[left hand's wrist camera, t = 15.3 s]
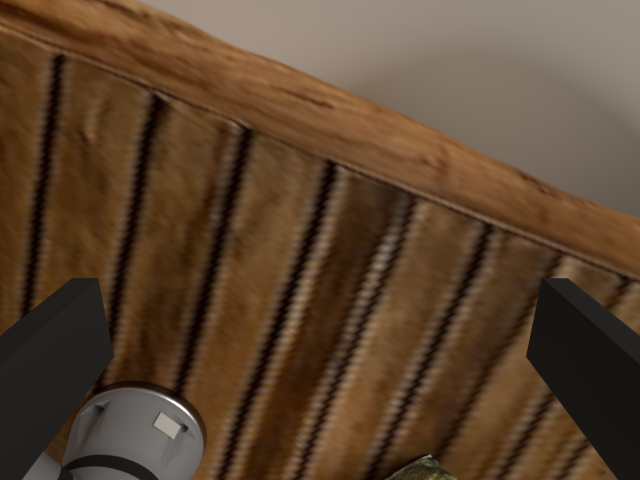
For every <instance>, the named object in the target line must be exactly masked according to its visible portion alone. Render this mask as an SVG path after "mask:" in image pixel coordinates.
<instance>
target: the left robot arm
mask: <svg viewBox="0 0 640 480" xmlns="http://www.w3.org/2000/svg"><path fill="white" fill-rule="evenodd" d="M113 357H114V355H113V350H112V345H111V340H110V335H109V330H108V325H107V320H106V315H105V311H104V306H103V301H102V296H101V291H100V286H99V281H98V278H72V279H71V280H69V281H68V282H67V283H66V284H64V285H63V286H62V287H61V288H59V289H58V290H57V291H56V292H54V293H53V294H52V295H51V296H49V297H48V298H47V299H46V300H44V301H43V302H42V303H41V304H39V305H38V306H37V307H36V308H34V309H33V310H32V311H31V312H29V313H28V314H27V315H26V316H24V317H23V318H22V319H21V320H19V321H18V322H17V323H16V324H14V325H13V326H12V327H11V328H9V329H8V330H7V331H6V332H4V333H3V334H2V335H1V336H0V480H190V478H191V477H192V476H193V474H194V473H195V471H196V470H197V468H198V466H199V464H200V462H201V460H202V457H203V453H204V450H205V447H206V442H207V434H206V428H205V425H204V422H203V420H202V418H201V416H200V415H199V413H198V412H197V410H196V409H195V408H194V407H193V406H192V405H191V404H190V403H189V402H188V401H187V400H186V399H184V398H183V397H182V396H180V395H179V394H177V393H175V392H173V391H172V390H169V389H167V388H165V387H162V386H159V385H155V384H151V383H146V382H122V383H117V384H113V385H110V386H107V387H105V388H103V389H101V390H99V391H97V392H96V393H95V394H93V395H92V396H91V397H90V398H89V399H88V400H87V402H86V403H85V404H84V406H83V407H82V408H81V410H80V411H79V413H78V414H77V416H76V418H75V421H74V423H73V425H72V428H71V432H70V436H69V440H68V443H67V447H66V451H65V455H64V458H63V462H62V466H61V465H60V464H59V463H58V462H57V461H55V460H54V459H53V458H51V457H50V456H49V455H47V454H46V453H45V452H43V451H44V450H45V448H46V447H47V446H48V444H49V443H50V442H51V440H52V439H53V438H54V436H55V435H56V434H57V432H58V431H59V430H60V428H61V427H62V426H63V424H64V423H65V422H66V420H67V419H68V418H69V416H70V415H71V414H72V412H73V411H74V409H75V408H76V407H77V405H78V404H79V403H80V401H81V400H82V399H83V397H84V396H85V395H86V393H87V392H88V391H89V389H90V388H91V387H92V385H93V384H94V383H95V381H96V380H97V379H98V377H99V376H100V375H101V373H102V372H103V371H104V369H105V368H106V367H107V365H108V364H109V363H110V361H111V360H112V359H113ZM526 357H527V359H528V360H529V361H530V363H531V364H532V365H533V367H534V368H535V369H536V371H537V372H538V373H539V375H540V376H541V377H542V379H543V380H544V381H545V383H546V384H547V385H548V387H549V388H550V389H551V391H552V392H553V393H554V395H555V396H556V397H557V399H558V400H559V401H560V403H561V404H562V405H563V407H564V408H565V409H566V411H567V412H568V414H569V415H570V416H571V418H572V419H573V420H574V422H575V423H576V424H577V426H578V427H579V428H580V430H581V431H582V432H583V434H584V435H585V436H586V438H587V439H588V440H589V442H590V443H591V444H592V446H593V447H594V448H595V450H596V451H597V452H598V454H599V455H600V456H601V458H602V459H603V460H604V462H605V463H606V464H607V466H608V467H609V469H610V470H611V471H612V473H613V474H614V475H615V477H616V478H617V479H618V480H640V336H639V335H638V334H637V333H636V332H634V331H633V330H632V329H631V328H629V327H628V326H627V325H626V324H624V323H623V322H622V321H621V320H619V319H618V318H617V317H616V316H614V315H613V314H612V313H611V312H609V311H608V310H607V309H606V308H604V307H603V306H602V305H601V304H599V303H598V302H597V301H596V300H594V299H593V298H592V297H591V296H589V295H588V294H587V293H586V292H584V291H583V290H582V289H581V288H579V287H578V286H577V285H576V284H574V283H573V282H572V281H571V280H569V279H568V278H542V281H541V286H540V291H539V296H538V301H537V306H536V311H535V315H534V320H533V325H532V330H531V335H530V340H529V345H528V350H527V355H526Z"/></svg>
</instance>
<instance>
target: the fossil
mask: <svg viewBox="0 0 640 480" xmlns="http://www.w3.org/2000/svg"><path fill="white" fill-rule="evenodd" d="M385 480H459V479H457V478H456V477H455V476H453V475H452V474H450V473H449V472H447V471H445V470H442V469H440V468H439V464H438V462H437V461H435V460H433V459H432V457H431V455H428V456H425V457H422V458H420V459H417V460H416V461H415V462H413V463H411V464H409V465H407V466H405V467H403V468H402V469H400V470H399V471H397V472H395V473H394V474H393V475H392V476H391V477H389V478H387V479H385Z"/></svg>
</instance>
